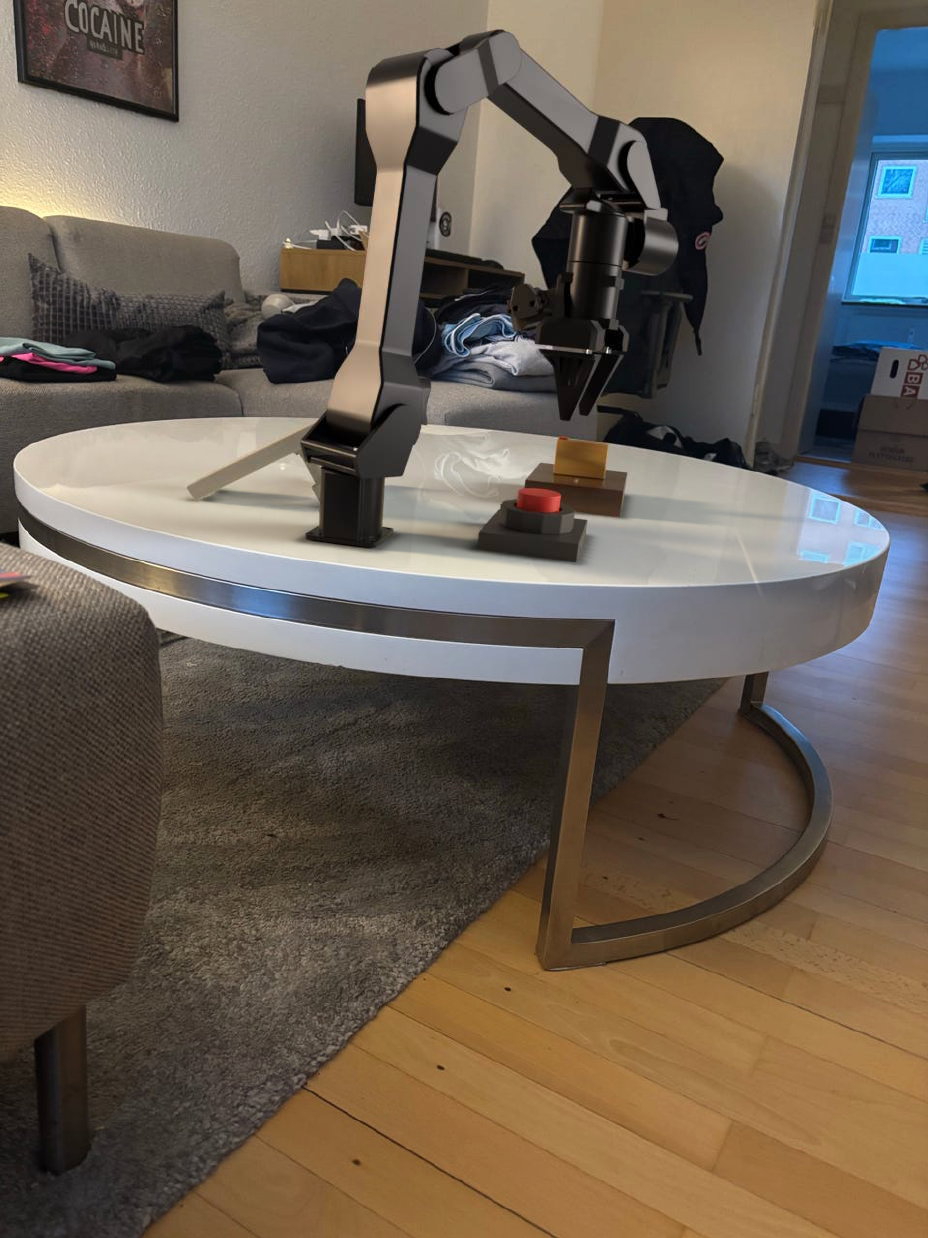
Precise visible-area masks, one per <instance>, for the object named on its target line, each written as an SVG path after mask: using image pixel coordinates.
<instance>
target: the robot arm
mask: <svg viewBox="0 0 928 1238" xmlns="http://www.w3.org/2000/svg"><path fill="white" fill-rule="evenodd" d="M519 42H520V41H519V40H518V39H517V37H516V36H515V35H514V34H513V33H512V32H509V31H506V30H505V29H503V28H502V29H500V28H499V29H498V28H495V29H493V30H487V31H483V32H478V33H473V34H469V35H467V36H465V37H464V38H462V40H460V41H458V42H456V43H453V44H451V45H450V46H446V47H444V48H441V47H435V48H434V47H433V48H429V49H424V50H420V51H416V52H411V53H405V54H401V55H396V56H392V57H391V56H390V57H387V58H383V59H381V60H380V61H379V62H378V63H376V64H375V66H372V67H371V69H370V70H369V73H368V75H367V79H366V83H365V133H366V137H367V140H368V142H369V146H370V150H371V152H372V155H373V159H374V161H375V165H376V178H375V185H374V194H373V200H372V210H371V218H370V224H369V231H368V241H367V249H366V255H365V262H364V272H363V280H362V289H361V294H360V295H361V297H360V303H359V310H358V311H359V312H358V319H357V327H356V334H355V335H356V336H355V341H354V345H353V347H352V349H351V350H350V352H349V354H348V355H347V356H346V358H345V359H344V361H343V362H342V364H341V365H340V367H339V369H338V371H337V372H336V374H335V376H334V380H333V384H332V388H331V391H330V394H329V398H328V402H327V405H326V410H325V411H324V412H323V413H322V415H321V416H320V417H319V418H317V419H318V421H317V422H316V423H315V424H314V425H313V426H312V428H311V429H310V430H309V431H308V432H307V433H306V435H305V436H304V437H303V438H302V439H301V441H300V445H301V448H302V452H303V455H304V459H305V462H307V463H310V464H311V463H313V464H317V465H320V466H322V467H321V479H320V502H319V511H318V512H319V514H318V525H317V526H315V527H314V528H312V529H310V530H309V531H307V532H305V535H304V538H305V539H306V540H311V541H318V542H325V543H331V544H332V543H333V544H341V545H348V546H349V545H350V546H354V547H355V546H356V547H363V548H376V547H378V546H379V545H381V544H382V543H383V542H385V541H386V540H387V539H389V538H390V537H391V536H393V534H394V528H393V527H388V526H383V523H384V521H383V520H384V505H385V504H384V503H385V486H386V479H387V478H399V477H403V476H404V473H405V470H406V469H407V465H408V463H409V458H410V455H411V453H412V449H413V447H414V446H415V445H416V444H417V442H418V440H419V438H420V434H421V430H422V426H428V422H429V421H428V416H427V411H428V409H427V408H428V403H429V399H430V395H431V392H432V380H431V378H430V377H426V376H421V375H418V372H417V369H416V365H415V362H414V358H413V354H412V353H413V343H414V336H415V329H416V321H417V316H418V307H419V301H420V295H421V286H422V278H423V274H424V273H423V272H424V267H425V266H424V264H425V258H426V251H427V244H428V237H429V231H430V224H431V217H432V216H431V215H432V209H433V203H434V196H435V195H434V194H435V189H436V182H437V179H438V176H439V175H440V172H441V171H442V170H443V168H444V166H445V165H446V163H447V161H448V160H449V158H450V157H451V156H452V154H453V152H454V150H455V149H456V148H457V146H458V144H459V141H460V138H461V136H462V135H461V134H462V131H463V128H464V124H465V120H466V117H467V112H468V110H469V107H471V106H472V105H475V104H477V103H478V102H480V101H482V100H484V99H487V100H488V101H489V102H491V103H492V104H493V105H494V106H495V107H497V108H498V109H500V111H502V112H503V113H504V114H506V115H507V116H508V117H509V118H510V119H512V120H513V121H514V122H515V123H517V124H518V125H519V126H521V127H522V128H523V129H524V130H526V131H527V132H528V133H529V134H530V135H532V136H533V137H534V138H535V139H537V140H538V141H539V142H541V143H542V144H543V145H544V146H545V147H547V148H548V149H549V150H550V151H551V152H552V154H554V156H555V157H556V160H557V166H558V170H559V173H560V174H561V175H562V177H564V178H565V180H566V181H567V182H568V183H569V185H571V187H572V188H573V189H574V190H573V192H572V193H571V195H570V196H568V197H566V198H565V199H564V200H562V202H561V203H560V204H559V211H560V212H562V213H563V212H564V213H567V214H571V215H572V221H571V222H572V223H571V230H570V238H569V247H568V255H567V263H566V269H565V270H566V271H561V273H560V274H558V276H557V280H556V281H557V282H556V287H553V288H548V289H541V290H539V291H537V290H536V289H535V288H534V287H533V285H532V284H531V283H527V282H525V283H522V284H519V285H515V286H513V288H512V291H511V297H510V299H508V300H506V302H507V308H506V309H505V314H506V315H507V316H508V317H510V320H511V325H512V330H513V332H514V333H517V332H518V331H519V332H520V333H527V332H528V333H529V332H531V331H535V337H534V338H535V339H534V345H539V346H549V347H551V348H538V352H539V353H540V355H542V356H543V357H544V358H545V359H546V361H547V362H548V363H549V364H550V365H551V367H552V370H553V377H554V383H555V391H556V392H555V393H556V399H557V407H558V415H559V420H560V421H563V422H570V421H572V419H573V416H574V414H575V413H576V411H577V408H578V414H579V415H580V416H583V417H589V416H590V414H592V411H593V409H594V407H595V406H596V404H597V402H598V401H599V398H600V397H601V396H602V393H603V392H604V390H605V388H606V386H607V385H608V383H609V382H610V379H612V376H613V374H614V373H615V370H616V369H617V368H618V365H619V364H620V362H621V360H623V358H624V354H617V353H612V351H617V352H628V346H629V338H630V334H629V332H628V331H627V330H626V328H625V327H624V325H620V324H619V323H620V322H619V319H616V318H617V317H616V316H617V310H618V302H619V295H620V291H621V290H624V286H625V278H622V274H623V273H622V272H623V271H625V272H629V273H635V274H641V275H647V276H659V275H661V274H663V273H664V272H665V273H666V271H667V270H668V269H670V267H671V266H672V264H674V261H676V258H677V254H678V251H679V244H680V243H679V241H678V235H677V232H676V229H675V227H674V226H673V225H672V224H671V223H670V222H669V221H667V220H668V213H669V211H668V208H664V207H661V204H662V203H661V200H660V199H661V198H660V195H659V191H658V187H657V183H656V178H655V174H654V168H653V165H652V160H651V156H650V153H649V152H650V151H649V148H648V143H647V141H646V139H645V137H644V135H643V134H642V132H640V131H639V130H638V129H636V128H634V127H633V126H631V125H629V124H627V123H625V122H624V121H622V120H620V119H617V118H613V117H609V116H605V115H601V114H598V113H596V112H594V111H592V110H591V109H589V108H588V107H587V106H586V105H585V104H583V103H582V102H581V101H580V100H579V99H578V98H577V96H574V94H573V93H572V92H570V91H569V90H568V89H567V88H566V87H565V86H564V85H563V84H562V83H560V81H558V80H557V79H556V78H555V77H554V76H552V75H551V74H550V73H549V72H548V71H547V70H546V69H545V68H544V67H542V65H541V64H539V63H538V62H537V61H536V60H535V59H534V58H533V57H532V56H530V55H529V53H527V52H526V51H525V50H524V49H522V47H521V46H520V43H519ZM355 449H356V450H355Z"/></svg>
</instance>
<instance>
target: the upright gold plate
mask: <svg viewBox="0 0 928 1238" xmlns="http://www.w3.org/2000/svg"><path fill="white" fill-rule="evenodd" d="M609 448H610V443H608V442H601V441H600V442H599V441H591V440H590V441H589V440H581V439H573V438H570V437H569V436H564V435H563V436H562V435H560V436H559V437H558V438H556V445H555V455H554V463H553V464H554V472H553V473H554V474H563V475H572V476H580V477H589V478H597V479H604V478H605V473H606V470H607V465H608V464H607V463H608V456H609Z"/></svg>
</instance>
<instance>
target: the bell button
mask: <svg viewBox="0 0 928 1238" xmlns="http://www.w3.org/2000/svg"><path fill="white" fill-rule="evenodd" d="M560 498H561V494H560V493H558V492H555V491H551V490H545V489H536V488H525V489H524V488H521V489H518V491H517V498H516V499H517V508H520V509H524V510H528V511H537V512H558V511H559V506H560Z"/></svg>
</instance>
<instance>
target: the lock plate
mask: <svg viewBox="0 0 928 1238" xmlns="http://www.w3.org/2000/svg"><path fill="white" fill-rule="evenodd" d="M553 472H554V463H548V462H539V464H538V465H537V466H536V467H534V469H533V471H531V473H530V474H529V475H528V476H527V477H526V478H525V480H524V488H523V489H525V488H536V489H545V490H551V491H555V492H558V493H560V494H561V498H560V504H564V505H567V506H569V507H571V508H573V509H575V513H582V514H590V515H599V516H605V517H606V516H607V517H614V518H621V514H622V509H623V505H624V500H625V494H626V487H627V481H628V480H627V479H628V471H619V470H610V469H606V473H605V478H604V479H597V478H589V477H580V476H572V475H563V474H554V473H553Z"/></svg>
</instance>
